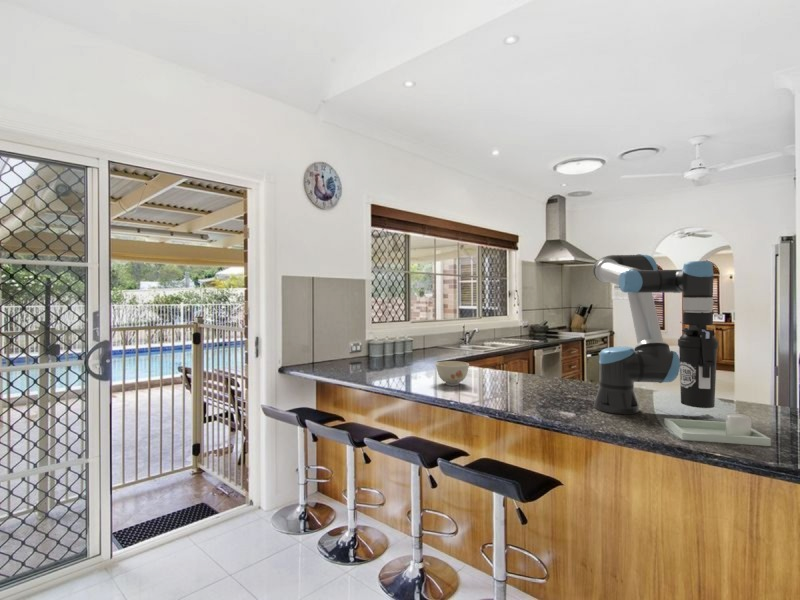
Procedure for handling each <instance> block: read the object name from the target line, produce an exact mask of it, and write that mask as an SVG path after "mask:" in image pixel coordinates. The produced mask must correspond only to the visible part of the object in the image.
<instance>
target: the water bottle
mask: <svg viewBox="0 0 800 600" xmlns="http://www.w3.org/2000/svg"><path fill="white" fill-rule="evenodd" d="M681 332H685V334H684V333H683V334H682V335H681V336H679V338H678V339H677V347H679V348H678V351H679V354H678V355H679V359H680V369H679V385H680V403H681V404H682V405H684V406H687V407H692V408H698V409H712V408H713V409H714V408H715V405H716V404H715V403H716V400H715V399H716V380H717V379H716V378H717V377H716V376H717V357H718V356H717V354H718V349H719V340H717V338H716V336H715V334H716V332H715V331H714V330H712V329H707V332H712V333H713V334H712V343H713V352H714V362H715V365H714V366H711V367H710V389H701V388H699V367H698V364H700V360H699V351H702V345H701V337H700V336H698V335H697V334H694V332H697V331H694V330H684V329H682V330H681Z"/></svg>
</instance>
